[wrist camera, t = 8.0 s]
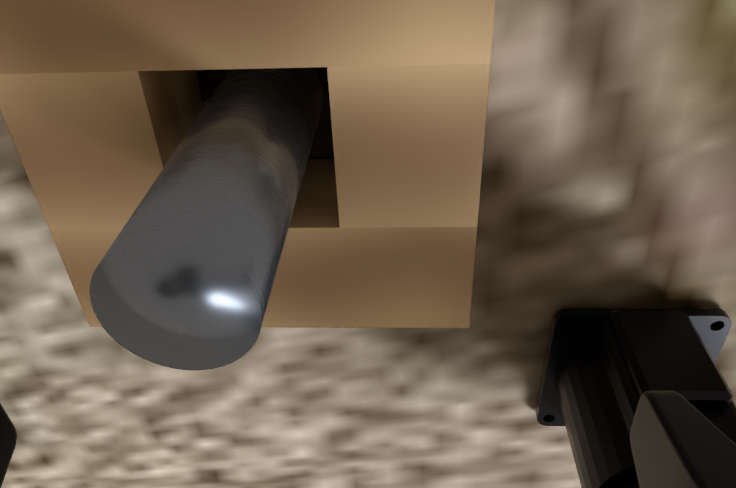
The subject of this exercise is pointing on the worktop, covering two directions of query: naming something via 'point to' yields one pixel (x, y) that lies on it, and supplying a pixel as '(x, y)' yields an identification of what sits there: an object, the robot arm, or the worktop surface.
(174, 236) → the pin
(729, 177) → the worktop surface
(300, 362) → the worktop surface
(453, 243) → the socket block
